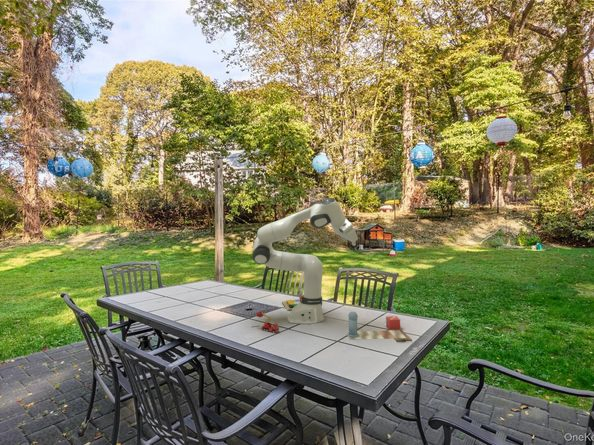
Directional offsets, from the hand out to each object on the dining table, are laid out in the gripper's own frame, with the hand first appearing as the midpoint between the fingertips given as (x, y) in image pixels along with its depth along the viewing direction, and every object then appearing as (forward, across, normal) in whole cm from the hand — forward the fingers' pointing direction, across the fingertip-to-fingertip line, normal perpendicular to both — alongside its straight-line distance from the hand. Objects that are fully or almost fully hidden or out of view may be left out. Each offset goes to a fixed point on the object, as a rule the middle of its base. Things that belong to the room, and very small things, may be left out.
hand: (349, 242), depth 189 cm
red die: (+50, +21, -9) cm, 55 cm away
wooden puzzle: (+42, -40, -43) cm, 72 cm away
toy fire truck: (+16, -5, -66) cm, 68 cm away
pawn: (+32, +23, -31) cm, 50 cm away
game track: (+39, +27, -22) cm, 52 cm away
